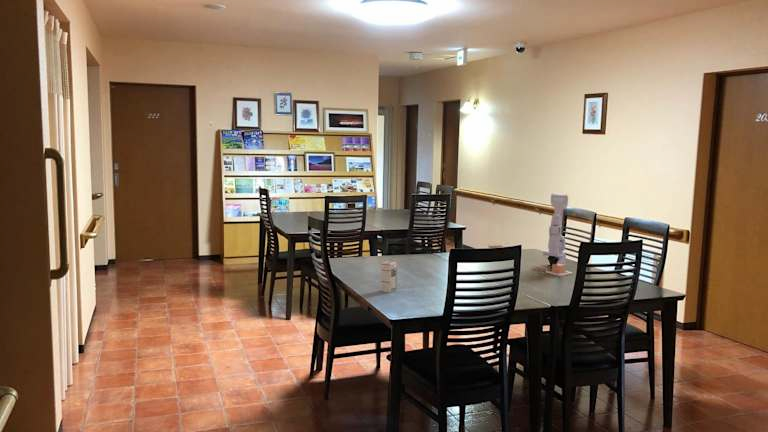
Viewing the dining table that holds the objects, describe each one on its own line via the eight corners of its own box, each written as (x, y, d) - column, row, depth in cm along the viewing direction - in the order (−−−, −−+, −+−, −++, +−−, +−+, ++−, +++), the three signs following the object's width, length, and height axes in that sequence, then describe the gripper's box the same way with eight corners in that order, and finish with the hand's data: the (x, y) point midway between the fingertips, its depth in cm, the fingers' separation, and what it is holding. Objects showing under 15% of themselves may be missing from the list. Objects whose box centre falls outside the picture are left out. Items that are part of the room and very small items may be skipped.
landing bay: (558, 270, 369) (558, 269, 369) (572, 274, 361) (572, 272, 360) (545, 272, 363) (545, 270, 363) (560, 276, 354) (560, 274, 354)
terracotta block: (557, 271, 366) (558, 263, 365) (564, 273, 362) (564, 265, 361) (551, 272, 363) (552, 264, 362) (558, 274, 359) (559, 265, 358)
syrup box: (390, 292, 305) (391, 263, 303) (380, 291, 308) (380, 261, 306) (396, 290, 310) (397, 261, 308) (386, 288, 313) (387, 260, 311)
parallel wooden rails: (541, 267, 377) (542, 264, 377) (556, 270, 368) (556, 268, 368) (532, 268, 372) (532, 266, 372) (547, 272, 364) (547, 269, 363)
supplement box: (501, 265, 379) (502, 244, 378) (501, 267, 374) (503, 245, 373) (487, 265, 380) (488, 243, 378) (487, 266, 375) (489, 245, 374)
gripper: (539, 244, 367) (538, 267, 369) (559, 248, 355) (558, 272, 357) (547, 243, 371) (546, 266, 373) (567, 247, 359) (566, 271, 361)
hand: (552, 269), depth 365 cm, fingers closed
